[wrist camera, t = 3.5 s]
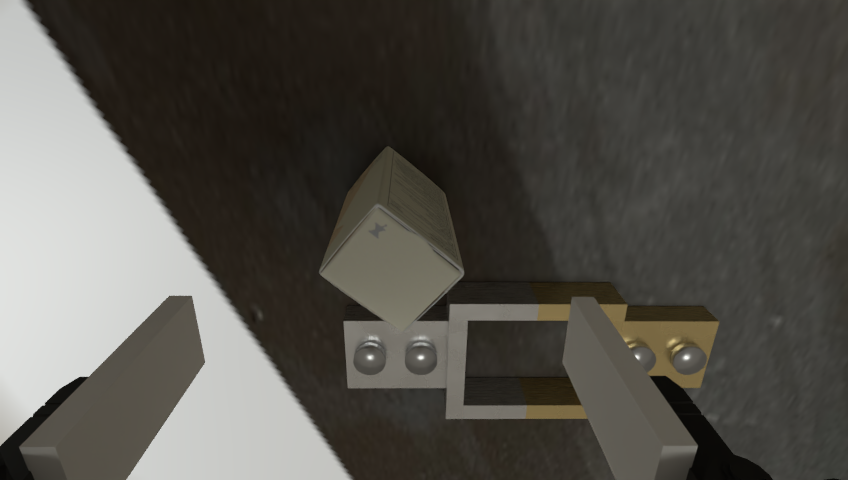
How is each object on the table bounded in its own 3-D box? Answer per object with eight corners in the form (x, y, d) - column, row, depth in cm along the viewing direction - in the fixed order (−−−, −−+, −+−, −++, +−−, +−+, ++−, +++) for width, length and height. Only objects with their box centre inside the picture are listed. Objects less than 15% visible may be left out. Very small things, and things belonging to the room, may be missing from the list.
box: (345, 193, 30) (309, 270, 20) (388, 142, 29) (373, 197, 19) (407, 242, 32) (403, 338, 22) (451, 196, 31) (468, 274, 20)
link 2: (517, 390, 37) (525, 418, 34) (528, 282, 33) (539, 304, 30) (680, 389, 37) (701, 418, 34) (709, 282, 33) (735, 304, 30)
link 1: (352, 390, 36) (347, 419, 34) (346, 281, 33) (339, 304, 30) (517, 390, 37) (525, 418, 34) (528, 282, 33) (539, 304, 30)
